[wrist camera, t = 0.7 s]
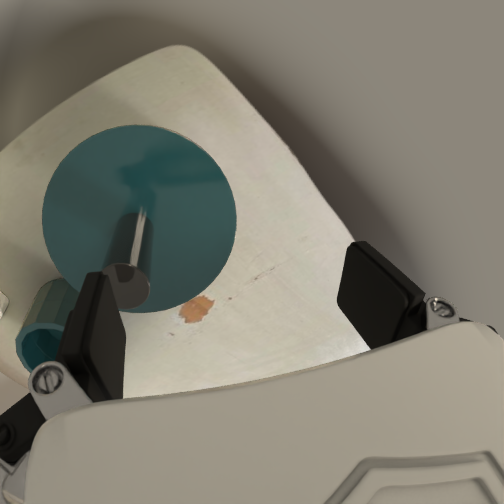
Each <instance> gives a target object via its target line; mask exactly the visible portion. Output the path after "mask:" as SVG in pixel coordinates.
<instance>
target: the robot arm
mask: <svg viewBox="0 0 504 504" xmlns="http://www.w3.org/2000/svg"><path fill="white" fill-rule="evenodd" d="M424 296H425V293H424V292H423V291H422V290H421V289H420V288H419V287H418V286H417V285H416V284H415V283H414V282H412V281H411V280H410V279H409V278H408V277H407V276H406V275H405V274H403V273H402V272H401V271H400V270H399V269H398V268H397V267H395V266H394V265H393V264H392V263H391V262H390V261H389V260H387V259H386V258H385V257H384V256H383V255H382V254H380V253H379V252H378V251H377V250H376V249H374V248H373V247H372V246H371V245H370V244H368V243H367V242H366V241H359V242H352V243H351V244H350V246H349V247H348V248H347V251H346V256H345V262H344V267H343V272H342V277H341V282H340V287H339V291H338V296H337V304H338V306H339V308H340V309H341V310H342V312H343V313H344V314H345V316H346V317H347V318H348V320H349V321H350V322H351V324H352V325H353V326H354V328H355V329H356V330H357V332H358V333H359V334H360V336H361V337H362V338H363V340H364V341H365V342H366V344H367V345H368V346H369V348H370V349H371V350H369V351H366V352H363V353H360V354H356V355H353V356H350V357H346V358H343V359H340V360H336V361H333V362H329V363H326V364H322V365H318V366H314V367H311V368H307V369H303V370H299V371H295V372H290V373H286V374H282V375H277V376H273V377H268V378H263V379H259V380H254V381H249V382H244V383H238V384H233V385H227V386H221V387H215V388H208V389H202V390H195V391H187V392H180V393H172V394H164V395H155V396H145V397H134V398H125V399H123V379H124V360H125V346H126V333H125V329H124V326H123V323H122V320H121V317H120V314H119V310H118V307H117V304H116V300H115V297H114V294H113V290H112V287H111V283H110V279H109V276H108V275H104V274H103V272H102V271H98V272H89V273H87V274H86V277H85V279H84V282H83V285H82V288H81V290H80V293H79V296H78V299H77V302H76V305H75V308H74V310H71V311H70V312H69V315H68V318H67V321H66V324H65V327H64V330H63V334H62V337H61V340H60V344H59V347H58V351H57V354H56V358H55V361H48V362H44V363H42V364H40V365H38V366H37V367H36V368H35V369H34V370H33V371H32V372H31V374H30V376H29V379H28V388H29V391H30V393H28V394H27V395H26V396H25V397H23V398H22V399H21V400H20V401H18V402H17V403H16V404H14V405H13V406H12V407H11V408H9V409H8V410H7V411H6V412H4V413H3V414H2V415H0V504H504V340H503V339H502V338H501V337H500V336H499V335H498V333H497V332H496V331H495V329H494V328H493V327H491V326H488V325H485V324H482V323H478V322H473V321H470V320H467V319H463V318H459V315H458V311H457V309H456V307H455V306H454V304H452V303H451V302H450V301H448V300H446V299H444V298H441V297H431V298H429V299H428V300H427V301H426V303H425V302H424V301H423V298H424Z"/></svg>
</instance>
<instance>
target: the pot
mask: <svg viewBox="0 0 504 504" xmlns="http://www.w3.org/2000/svg"><path fill="white" fill-rule="evenodd" d="M78 296H79V292H78V291H77V290H76V289H74V288H73V287H72V286H71V285H70V284H69V283H68V282H67V281H66V280H65V279H56V280H53V281H50V282H48V283H46V284H45V285H44V286H43V287H41V289H40V290H39V291H38V293H37V295H36V297H35V298H34V300H33V302H32V304H31V306H30V308H29V310H28V312H27V314H26V317H25V319H24V321H23V323H22V325H21V327H20V330H19V332H18V334H17V337H16V339H15V341H16V353H17V355H18V357H19V359H20V361H21V362H22V364H23V366H24V367H25V368H26V369H27V370H28V371H29V372H30V373H31V372H32V371H33V370H34V369H35V368H36V367H37V366H38V365H40V364H42V363H44V362H48V361H55V358H56V354H57V351H58V347H59V344H60V340H61V337H62V334H63V330H64V327H65V324H66V321H67V318H68V315H69V312H70V311H71V310H74V308H75V305H76V302H77V299H78Z"/></svg>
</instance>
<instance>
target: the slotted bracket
mask: <svg viewBox="0 0 504 504" xmlns="http://www.w3.org/2000/svg"><path fill="white" fill-rule="evenodd" d="M8 304H9V300H8V298H7V297H6V296H5V295H4V294H3V293H2V292H1V291H0V319H1V317H2V315H3V313H4V312H5V310H6V308H7V306H8Z"/></svg>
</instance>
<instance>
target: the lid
mask: <svg viewBox="0 0 504 504" xmlns="http://www.w3.org/2000/svg"><path fill="white" fill-rule="evenodd" d="M236 222H237V215H236V207H235V201H234V197H233V194H232V190H231V188H230V186H229V183H228V181H227V179H226V177H225V175H224V174H223V172H222V170H221V169H220V167H219V166H218V165H217V163H216V162H215V161H214V160H213V158H212V157H211V156H210V155H209V154H208V153H207V152H206V151H205V150H204V149H203V148H202V147H201V146H199V145H198V144H196V143H195V142H193V141H192V140H191V139H189V138H187V137H185V136H183V135H181V134H179V133H177V132H175V131H172V130H169V129H166V128H163V127H158V126H152V125H137V124H134V125H125V126H118V127H115V128H111V129H107V130H104V131H102V132H100V133H97V134H95V135H93V136H91V137H89V138H88V139H86V140H85V141H83V142H81V143H80V144H79V145H78V146H76V147H75V148H74V149H73V150H72V151H70V152H69V154H68V155H67V156H66V157H65V158H64V159H63V160H62V161H61V163H60V164H59V166H58V167H57V169H56V170H55V172H54V174H53V176H52V178H51V180H50V182H49V184H48V187H47V190H46V194H45V197H44V203H43V209H42V226H43V234H44V239H45V243H46V247H47V249H48V252H49V254H50V257H51V259H52V261H53V262H54V264H55V266H56V268H57V269H58V271H59V272H60V273H61V275H62V276H63V277H64V279H65V280H66V281H67V282H68V283H69V284H70V285H71V286H72V287H73V288H74V289H76V290H77V291H78V292H79V293H80V290H81V288H82V285H83V282H84V279H85V277H86V274H87V273H89V272H98V271H102V272H103V274H104V275H108V276H109V279H110V283H111V287H112V290H113V294H114V297H115V300H116V304H117V307H118V310H119V311H122V312H130V313H150V312H158V311H163V310H167V309H170V308H173V307H176V306H178V305H181V304H183V303H185V302H187V301H189V300H190V299H192V298H194V297H195V296H197V295H198V294H200V293H201V292H202V291H203V290H205V289H206V288H207V287H208V286H209V285H210V284H211V283H212V282H213V281H214V280H215V278H216V277H217V276H218V275H219V273H220V272H221V270H222V269H223V267H224V265H225V264H226V262H227V260H228V258H229V255H230V253H231V251H232V247H233V244H234V240H235V234H236Z"/></svg>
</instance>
